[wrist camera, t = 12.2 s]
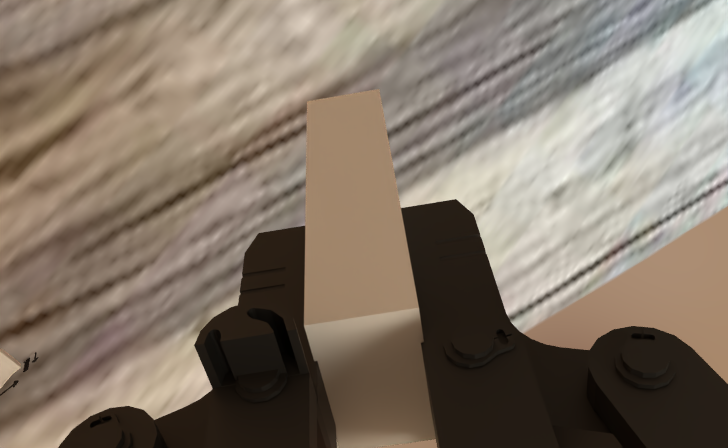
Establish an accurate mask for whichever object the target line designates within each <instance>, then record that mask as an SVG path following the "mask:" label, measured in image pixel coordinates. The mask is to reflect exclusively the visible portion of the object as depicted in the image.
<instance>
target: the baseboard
mask: <svg viewBox="0 0 728 448" xmlns="http://www.w3.org/2000/svg"><path fill="white" fill-rule="evenodd" d="M37 359H38V357H37V358H36V353H35V358H34V360H33V361H32V362H35V361H36V360H37ZM29 362H30V358H28V359H27V360H26V362H24V363H25V364H24V371H23V372H25V371H27V370H28V367H29ZM19 368H21V363H20V362H18V361H17V360H16V359H15V358H13V357H12V356H11V355H9V354H8V353H7V352H6V351H4V350H3V349H2V348H0V388H1V387H2V386H3V385H4V384H5V382H6V381H7V380H8V379H9V378H10V376H11V375H12V374H13V373H15V372H16V371H17V370H18V369H19ZM17 383H18V381H14V384H13V385H12V386H13V388H14V387H15V385H16V384H17ZM12 386H10V387H9V388H8V389H10V388H11V387H12ZM8 389H7V390H8ZM7 390H5V391H4V392H3V393H5V392H6V391H7ZM3 393H2V394H3ZM2 394H0V396H1V395H2Z"/></svg>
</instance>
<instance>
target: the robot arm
mask: <svg viewBox="0 0 728 448" xmlns="http://www.w3.org/2000/svg"><path fill="white" fill-rule="evenodd" d="M242 275H243V278H242V280H241V287H240V293H241V295H239V303H238V306H234V307H231V308H229V309H227V310H226V311H224V312H222V313H220V314H219V315H217V316H215V317H214V318H213V319H212V320H211V321H210V322H209V323H208V324H207V325H206V326H205V327H204V328H203V329H202V330H201V331H200V334H199V336H198V338H197V341H196V343H195V345H194V346H195V348H196V350H197V353H198V355H199V357H200V360H201V362H202V364H203V367H204V369H205V371H206V374H207V376H208V378H209V381H210V383H211V385H212V388H213V389H212V391H210V392H209V393H208V394H206V395H205V396H204V397H202V398H201V399H200V400H198V401H196V402H194V403H192V404H190V405H188V406H186V407H184V408H182V409H179V410H177V411H175V412H172V413H170V414H168V415H165V416H163V417H161V418H158V419H156V420H154V419H153V418H151V417H150V416H149V415H148V414H147V413H146V412H145V411H144V410H142V409H138V408H134V407H130V406H125V407H116V408H109V409H107V410H104V411H102V412H100V413H97V414H95V415H92V416H90V417H89V418H88V419H86V420H85V421H83V422H82V423H81V424H79V425H78V426H77V427H75V428H74V429H73V430H72V431H71V432H70V434H69V435H68V436H67V437H66V438H65V440H64V441H63V442H62V443H61V445H60V446H59V448H337V442H338V446H339V448H378V447H384V446H391V445H398V444H405V443H412V442H418V441H425V440H432V439H436V442H437V447H438V448H728V384H727V383H726V382H725V381H724V380H723V379H722V378H721V377H720V376H719V375H718V374H717V373H716V372H715V371H714V370H713V369H712V368H711V367H710V366H709V365H708V364H707V363H706V362H705V361H704V360H703V359H702V358H701V357H700V356H699V355H698V354H697V353H696V352H695V351H694V350H693V349H692V348H691V347H690V346H688V345H687V344H686V343H684V342H683V341H681V340H680V339H679V338H677V337H676V336H675V335H672V334H669V333H666V332H663V331H660V330H658V329H655V328H648V327H636V326H631V327H625V328H620V329H614V330H612V331H610V332H609V333H607V334H605V335H603V336H601V337H600V338H598V339H597V340H596V342H595V343H594V345H593V346H592V348H591V349H590V350H580V349H571V348H560V347H556V346H550V345H545V344H543V343H540V342H538V341H535V340H532V339H530V338H529V337H527V336H526V335H524V334H523V333H521V332H519V330H518V329H517V328H516V327H515V326H514V325H513V324H512V323H511V322H510V320H509V318H508V316H507V314H506V312H505V309H504V306H503V303H502V300H501V297H500V293H499V290H498V287H497V284H496V281H495V278H494V275H493V272H492V269H491V266H490V263H489V260H488V257H487V254H486V252H485V248H484V245H483V242H482V239H481V237H480V233H479V230H478V227H477V223H476V220H475V217H474V214H472V213H471V212H470V211H469V210H468V209H467V208H466V207H464V206H463V205H462V204H461V203H460V202H459V201H457V200H456V199H455V200H449V201H443V202H436V203H430V204H424V205H418V206H412V207H406V208H401V207H400V201H399V196H398V190H397V185H396V179H395V174H394V168H393V163H392V157H391V152H390V146H389V141H388V135H387V130H386V125H385V119H384V114H383V108H382V103H381V97H380V92H379V89H377V90H371V91H366V92H360V93H354V94H348V95H342V96H336V97H330V98H324V99H318V100H312V101H307V150H306V220H305V226H300V227H294V228H288V229H282V230H276V231H270V232H263V233H259V234H258V235H257V236H256V238H255V239H254V241H253V242H252V244H251V245H250V247H249V248H248V249H247V251H246V252H245V256H244V264H243V272H242ZM336 439H337V442H336Z"/></svg>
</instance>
